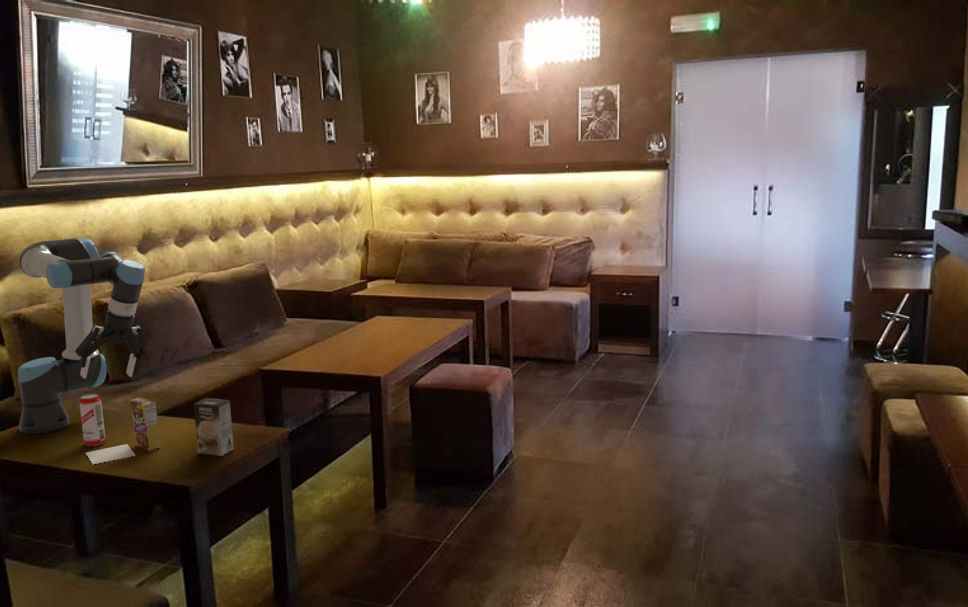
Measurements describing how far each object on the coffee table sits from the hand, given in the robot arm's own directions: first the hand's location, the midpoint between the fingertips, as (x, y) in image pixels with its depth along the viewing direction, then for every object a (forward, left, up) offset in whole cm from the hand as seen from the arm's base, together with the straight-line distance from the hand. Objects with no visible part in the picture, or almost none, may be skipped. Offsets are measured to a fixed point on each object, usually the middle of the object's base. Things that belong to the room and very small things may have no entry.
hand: (106, 375), depth 240 cm
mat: (-1, -1, -25) cm, 25 cm away
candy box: (-1, +10, -26) cm, 27 cm away
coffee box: (+17, +26, -26) cm, 40 cm away
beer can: (-15, -3, -25) cm, 30 cm away
